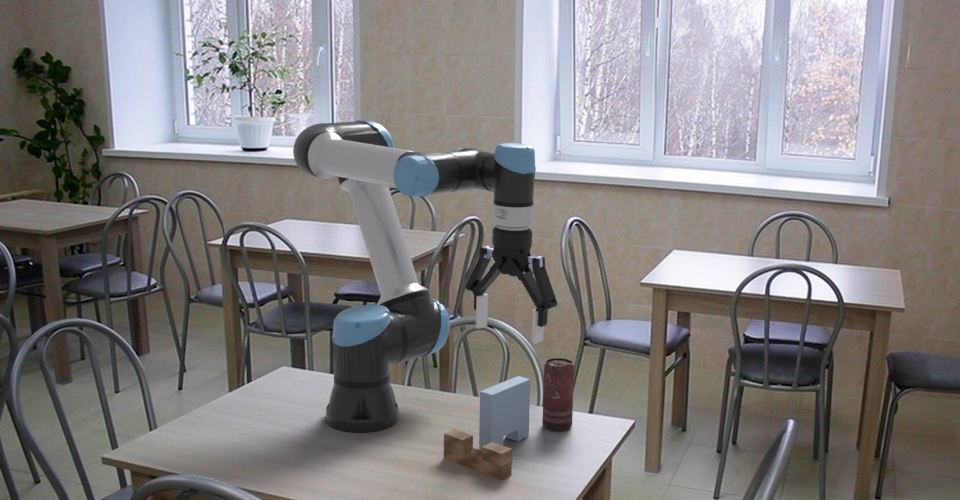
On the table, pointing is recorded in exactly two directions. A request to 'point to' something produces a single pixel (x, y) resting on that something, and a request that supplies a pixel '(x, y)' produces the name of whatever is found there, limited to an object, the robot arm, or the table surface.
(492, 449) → the walnut u-shaped block
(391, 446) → the table surface
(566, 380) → the can
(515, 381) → the pale blue upright slab
